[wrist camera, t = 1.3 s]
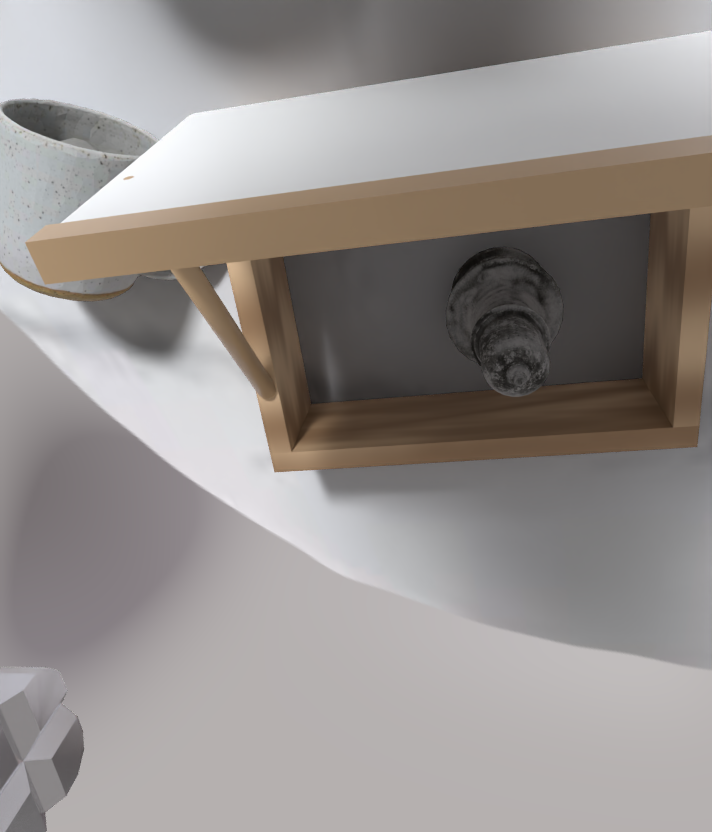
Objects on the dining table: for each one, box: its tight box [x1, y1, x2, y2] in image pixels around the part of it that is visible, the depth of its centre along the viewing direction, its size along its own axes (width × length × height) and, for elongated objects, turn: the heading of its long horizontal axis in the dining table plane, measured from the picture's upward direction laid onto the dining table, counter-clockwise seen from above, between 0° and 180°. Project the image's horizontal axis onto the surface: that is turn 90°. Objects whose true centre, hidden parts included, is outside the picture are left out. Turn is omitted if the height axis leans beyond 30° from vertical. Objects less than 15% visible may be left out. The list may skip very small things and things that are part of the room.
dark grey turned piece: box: [446, 247, 563, 397], centre depth 32 cm, size 6×6×12 cm
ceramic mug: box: [0, 99, 205, 301], centre depth 34 cm, size 11×8×8 cm
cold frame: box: [226, 206, 712, 472], centre depth 34 cm, size 18×22×6 cm
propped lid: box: [25, 30, 712, 399], centre depth 24 cm, size 14×22×15 cm, turn 98°
